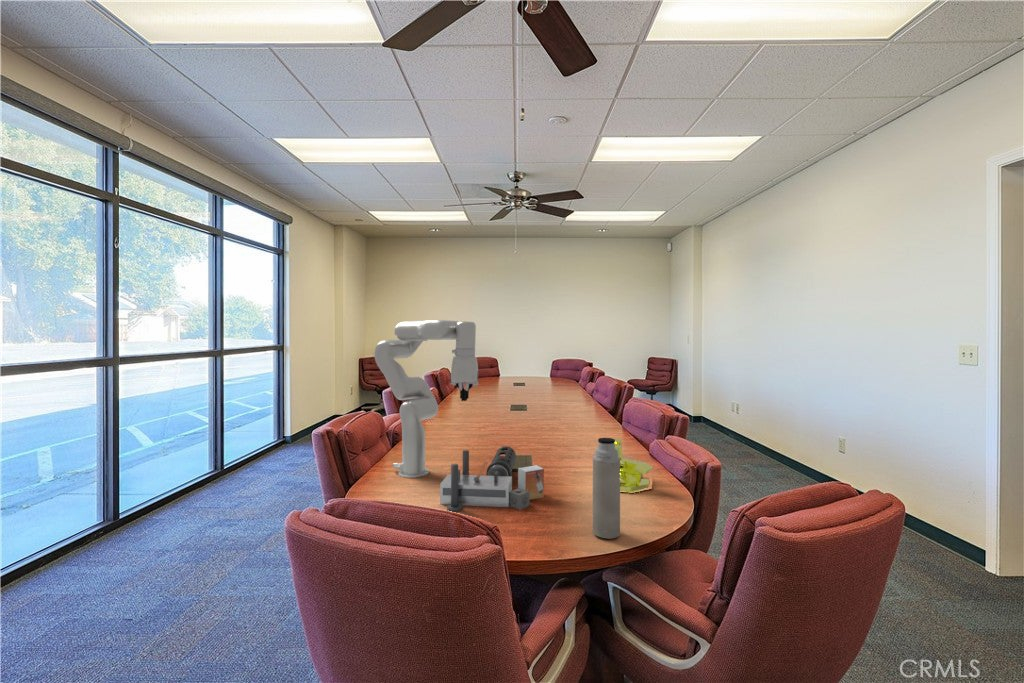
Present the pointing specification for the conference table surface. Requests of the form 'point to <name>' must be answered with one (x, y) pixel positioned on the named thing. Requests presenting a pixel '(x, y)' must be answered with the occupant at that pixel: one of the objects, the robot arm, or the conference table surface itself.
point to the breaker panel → (478, 490)
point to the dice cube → (519, 498)
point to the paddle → (481, 470)
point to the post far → (465, 462)
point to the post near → (454, 490)
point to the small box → (532, 481)
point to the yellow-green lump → (631, 472)
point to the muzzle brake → (502, 462)
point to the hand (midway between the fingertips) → (464, 400)
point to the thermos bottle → (606, 489)
